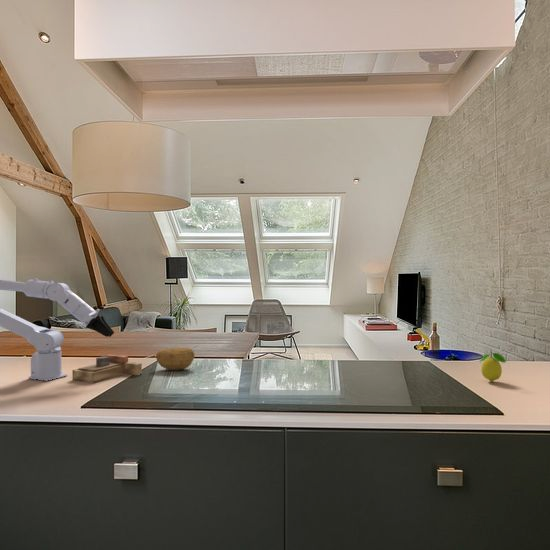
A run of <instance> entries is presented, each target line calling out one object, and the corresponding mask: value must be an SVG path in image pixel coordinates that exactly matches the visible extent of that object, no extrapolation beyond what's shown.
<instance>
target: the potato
mask: <svg viewBox="0 0 550 550" xmlns="http://www.w3.org/2000/svg"><path fill="white" fill-rule="evenodd" d="M155 355H156V356H155V358H156V362H157V363H158V364H159V365H160V367H161V368H164V369H166V370H170V371H180V370H185V369H187V368H189V366H191V365H192V363H193V361H194V359H195V355H196V353H195V351H194V350H193V349H192V348H189V347H180V346H178V347H172V348H171V347H170V348H163V349H161V350H158V351H157V353H156V354H155Z"/></svg>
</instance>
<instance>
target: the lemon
mask: <svg viewBox="0 0 550 550" xmlns="http://www.w3.org/2000/svg"><path fill="white" fill-rule="evenodd" d="M492 351H493V350H490V354H484V355H483V356H482V357H481V359H480V360H479V363H482V364H481V370H480V371H481V375H482V376H483V377H484V378H485V379H486V380H488V381H489V382H491V383H493V382H494V381H496V380H499V379H500V378H501V376H502V372H503V371H502V370H503V369H502V365H501V363H507V361H506V359H505V358H504V355H502V354H500V353H498V352H492Z"/></svg>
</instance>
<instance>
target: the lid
mask: <svg viewBox="0 0 550 550" xmlns="http://www.w3.org/2000/svg"><path fill="white" fill-rule="evenodd" d="M95 360H96V362H95V363H94V364H91V365H87V366H82V367H78V369H79V370H81V371H88V372H97V371H101V370H105V369H109V368H113V367H116V366H120V365H123V363H121V362H112V361H110V357H106V355H105V356H104V355H103V356H99V357H96V359H95ZM125 363H126V362H125Z"/></svg>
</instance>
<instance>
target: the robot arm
mask: <svg viewBox="0 0 550 550" xmlns="http://www.w3.org/2000/svg"><path fill="white" fill-rule="evenodd" d="M0 291H11V292H22V293H24V295H25V296H26V297H29V298H30V297H31V298H39V299H47V300H50V301H53V302H57V303H58V304H59V305H60V306H61V307H62V308H64V309H65V310H66V311H67V312H68V313H70V315H72V316H73V317H75V318H76V319H77V320H78V321H79V322H80V323H81V324H82V325H83V326H85V329H89V330H92V331H95V332H97V333H98V334H101V335H102V336H104V337H106V338H108V337H109V338H111V337H112V336H113V335H114V334H115V332H114V330H113V329H112V327H111V326H110V325H109V323H108V322H107V320H106V319H105V316H104V315H102V316H101V315H100V314H99V312H100V311H101V309H99V308H97V309H94V308H93V307H92V306H90V305H89V304H88V303H87V302H86V301H84V300H83V299H82V298H81V297H80V296H78V295H77V294H76V293H74V292H73V291H72V290H71V289H70V287H69V285H68V284H66V283H63V282H54V280H49V281H48V280H47V281H44V280H40V279H39V278H32V279H28V280H27V281H26V282H22V281H17V280H16V281H15V280H10V279H5V278H4V279H3V278H0ZM0 327H1V328H2V329H6V330H7V331H10V332H11V333H14V334H15V335H18V336H21V337H22V338H24V339H26V340H27V343H28V344H30V345H32V346H33V348H35V350H36V351H35V352H34V353H33V354H32V355H31V357H30V376H28V379H29V378H31V380H36V379H38V380H37V381H43V380H44V381H43V382H48V380H49V381H52V379H53V380H56V378H57V379H60V377H61V378H64V376H65V377H68V374H67V373H62V372H63V371H62V347H61V346H62V344H63V343H64V341H65V338H64V334H63V332H61V331H60V330H58V329H50V328H48V327H45V326H39V325H37V324H34V323H32V322H30V321H28V320H26V319H24V318H22V317H20V316H18V315H15V314H13V313H12V312H10V311H7V310H5V309H3V308H1V307H0Z"/></svg>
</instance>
